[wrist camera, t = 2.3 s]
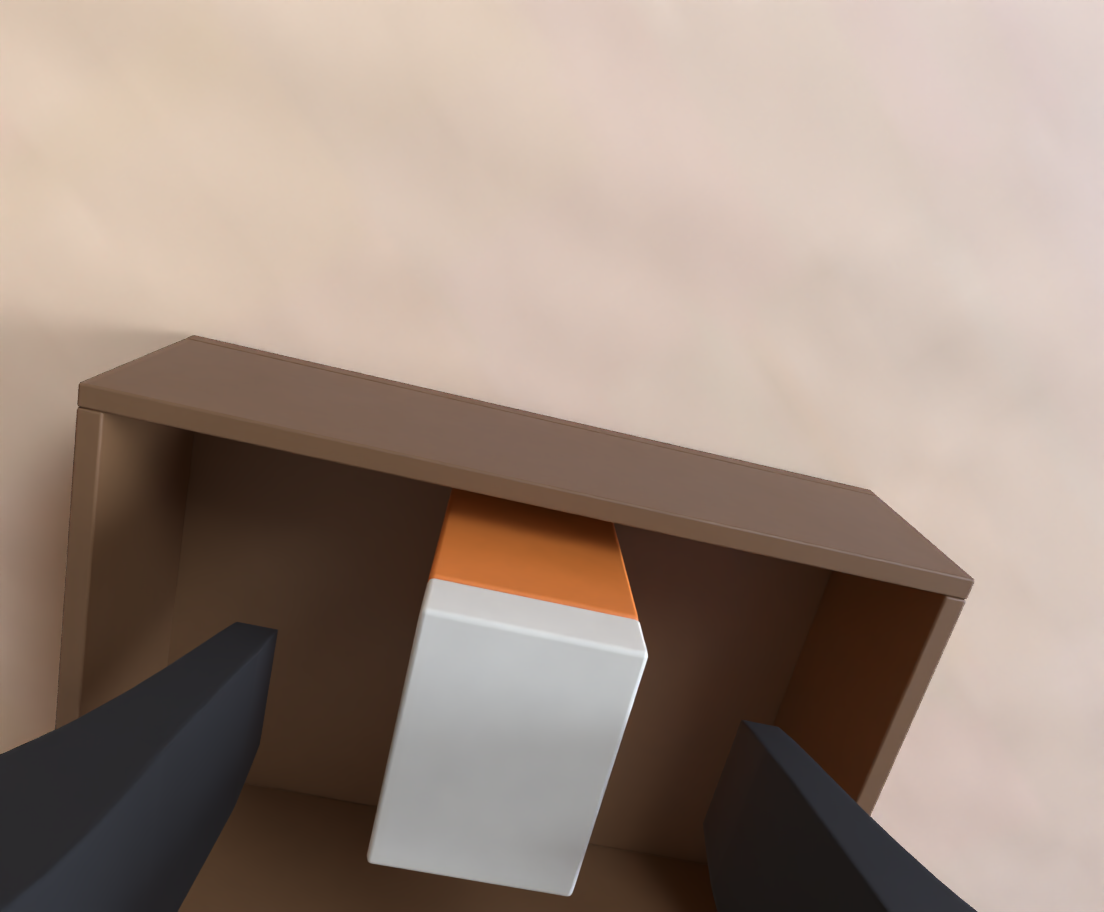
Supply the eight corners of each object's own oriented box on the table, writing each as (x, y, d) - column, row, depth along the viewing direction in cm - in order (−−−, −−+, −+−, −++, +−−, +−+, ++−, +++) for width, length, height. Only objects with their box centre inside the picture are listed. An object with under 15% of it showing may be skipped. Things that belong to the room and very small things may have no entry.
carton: (870, 489, 18) (976, 579, 14) (724, 867, 21) (773, 1035, 17) (192, 334, 16) (77, 382, 12) (145, 766, 19) (40, 922, 15)
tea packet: (606, 490, 17) (651, 654, 11) (557, 664, 18) (572, 900, 12) (459, 457, 17) (419, 608, 11) (420, 637, 18) (365, 865, 12)
